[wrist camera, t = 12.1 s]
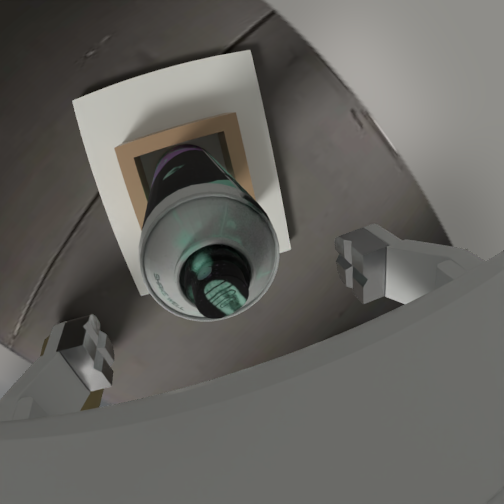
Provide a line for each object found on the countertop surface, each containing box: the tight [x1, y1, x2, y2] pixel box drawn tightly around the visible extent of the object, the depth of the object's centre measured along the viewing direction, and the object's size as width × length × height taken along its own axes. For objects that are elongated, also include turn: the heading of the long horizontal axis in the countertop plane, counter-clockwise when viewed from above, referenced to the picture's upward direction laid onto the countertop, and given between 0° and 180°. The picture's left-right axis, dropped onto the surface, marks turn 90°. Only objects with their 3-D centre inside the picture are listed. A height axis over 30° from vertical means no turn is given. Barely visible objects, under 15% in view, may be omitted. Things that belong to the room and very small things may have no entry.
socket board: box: [72, 50, 291, 296], centre depth 26 cm, size 20×16×6 cm
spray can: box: [139, 144, 280, 321], centre depth 18 cm, size 6×6×20 cm
